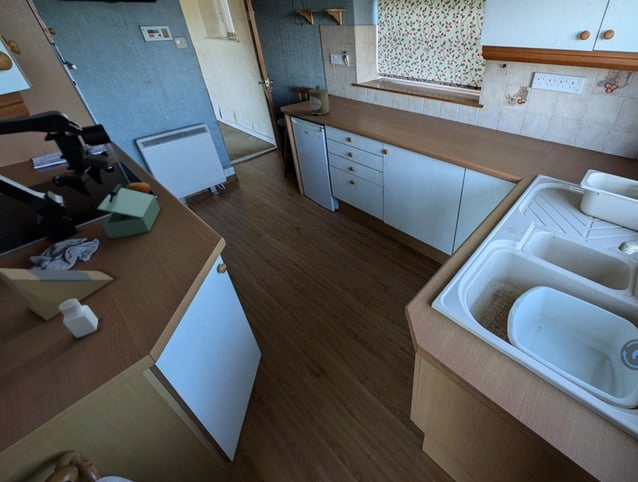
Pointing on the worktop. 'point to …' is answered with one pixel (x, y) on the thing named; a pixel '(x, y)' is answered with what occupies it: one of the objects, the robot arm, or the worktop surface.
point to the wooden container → (319, 100)
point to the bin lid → (126, 202)
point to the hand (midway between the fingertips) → (95, 190)
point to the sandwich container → (52, 287)
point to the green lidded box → (131, 222)
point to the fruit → (139, 187)
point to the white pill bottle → (78, 318)
